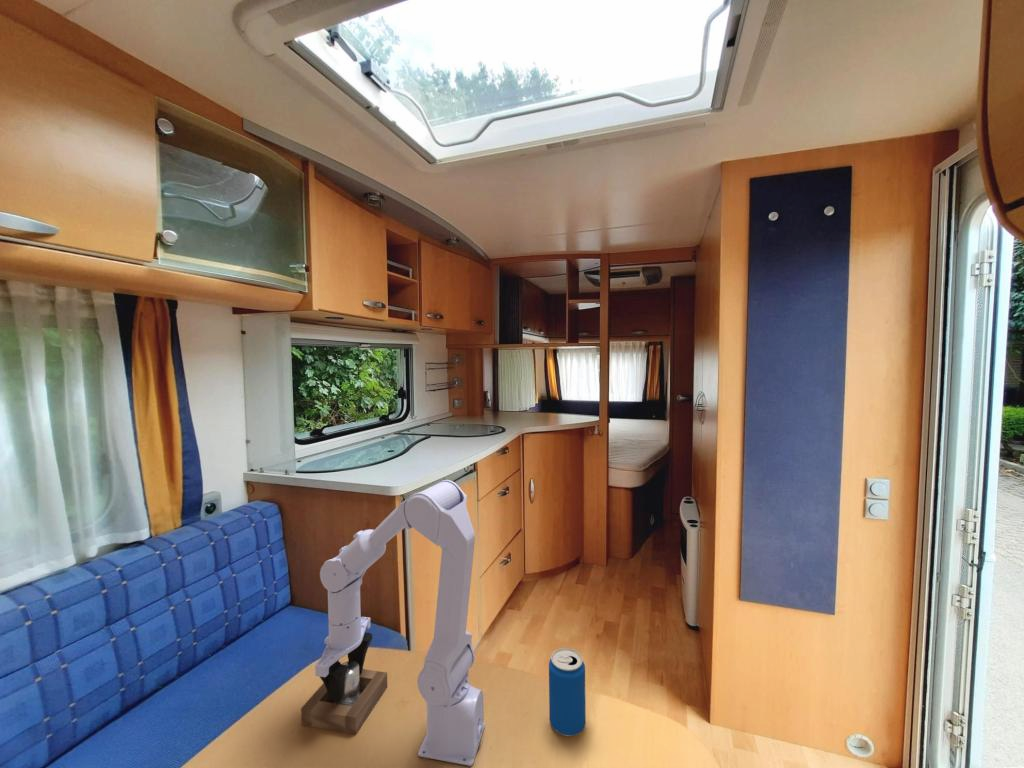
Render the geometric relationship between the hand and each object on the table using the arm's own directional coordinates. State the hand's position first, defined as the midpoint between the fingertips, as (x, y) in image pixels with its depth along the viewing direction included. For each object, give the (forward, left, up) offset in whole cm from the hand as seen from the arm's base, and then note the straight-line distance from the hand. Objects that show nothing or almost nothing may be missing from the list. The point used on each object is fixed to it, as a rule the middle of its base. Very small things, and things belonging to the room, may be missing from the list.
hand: (346, 686), depth 77 cm
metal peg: (0, 0, -4) cm, 4 cm away
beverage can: (-42, -4, -4) cm, 42 cm away
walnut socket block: (0, 0, -4) cm, 4 cm away
